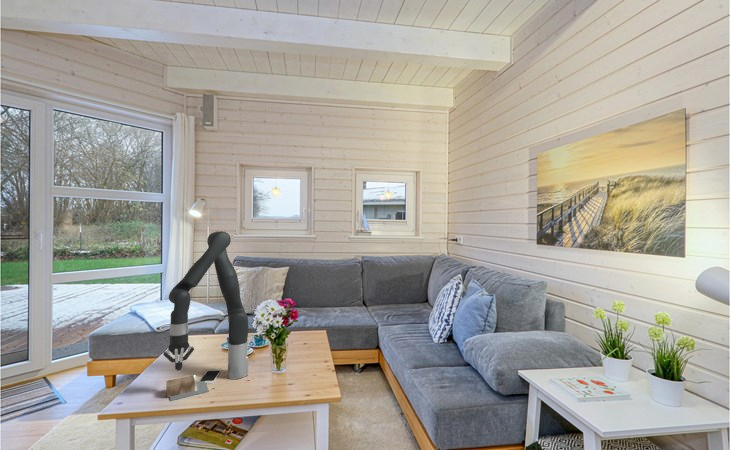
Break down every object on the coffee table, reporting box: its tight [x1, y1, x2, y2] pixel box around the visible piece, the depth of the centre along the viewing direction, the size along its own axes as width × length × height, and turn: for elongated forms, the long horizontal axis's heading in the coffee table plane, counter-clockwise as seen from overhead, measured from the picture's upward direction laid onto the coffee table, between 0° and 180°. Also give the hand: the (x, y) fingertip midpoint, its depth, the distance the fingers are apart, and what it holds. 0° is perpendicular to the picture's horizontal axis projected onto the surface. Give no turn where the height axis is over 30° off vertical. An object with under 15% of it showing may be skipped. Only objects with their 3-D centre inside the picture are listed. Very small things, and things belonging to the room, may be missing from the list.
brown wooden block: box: [165, 374, 198, 398], centre depth 155 cm, size 5×6×12 cm
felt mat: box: [169, 380, 210, 402], centre depth 156 cm, size 16×13×1 cm
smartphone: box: [199, 368, 223, 385], centre depth 171 cm, size 7×16×1 cm, turn 7°
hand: (178, 369), depth 154 cm, fingers closed
